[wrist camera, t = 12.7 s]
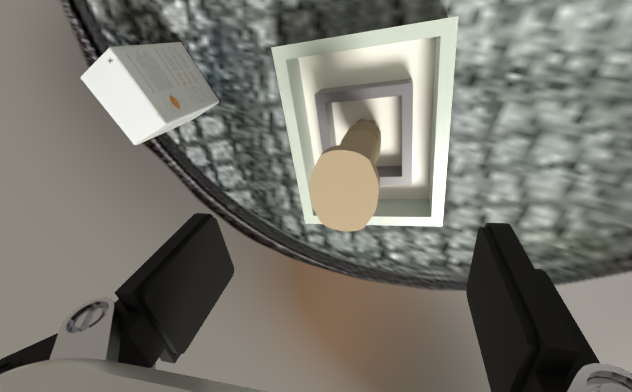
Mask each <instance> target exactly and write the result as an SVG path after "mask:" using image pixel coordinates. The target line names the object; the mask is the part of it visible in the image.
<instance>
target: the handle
mask: <svg viewBox="0 0 632 392" xmlns="http://www.w3.org/2000/svg"><path fill="white" fill-rule="evenodd" d="M380 149H381V131H380V130H379V129H378V127H377V126H376V122H375V121H374V120H372V119H371V120H364V119H361V120H359V121H357V123H356V124H354V125H353V126H352V127H351V128H350V129H349V130H348V131H347V133H346V134H345V136H344V137H343V139H342V141H341V143H340V145H337V146H333V147H330V148H328V149H326V150H324V151H323V153H322V154H321V155H320V157H319V159H318V161H317V163H316V165H315V167H314V169H313V171H312V173H311V176H310V200H311V204H312V207H313V209H314V211H315V213H316V215H317V217H318V218H319V220H320V222H321V223H323V224H324V225H326V226H327V227H329V228H332V229H335V230H340V231H356V230H360V229H363V228H364V227H365V226H366V224H367V223H368V222H369V220H370V219H371V217H372V216H373V214H374V213H375V211H376V208H377V203H378V196H379V187H380V177H379V174H378V170H377V168H376V162H377V160H378V157H379V154H380Z"/></svg>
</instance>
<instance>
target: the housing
mask: <svg viewBox="0 0 632 392" xmlns="http://www.w3.org/2000/svg"><path fill="white" fill-rule="evenodd" d="M457 28H458V16H456V17H450V18H444V19H438V20H432V21H426V22H420V23H414V24H408V25H403V26H397V27H391V28H385V29H379V30H373V31H367V32H361V33H355V34H349V35H343V36H337V37H331V38H325V39H319V40H313V41H307V42H301V43H295V44H289V45H283V46H277V47H271V49H272V54H273V59H274V64H275V69H276V74H277V80H278V85H279V90H280V95H281V100H282V105H283V110H284V116H285V121H286V126H287V131H288V136H289V141H290V146H291V152H292V157H293V162H294V167H295V172H296V177H297V182H298V188H299V193H300V198H301V203H302V208H303V213H304V218H305V224H323V223H321V222H320V220H319V218H318V217H317V215H316V213H315V211H314V209H313V207H312V204H311V200H310V176H311V173H312V171H313V169H314V167H315V165H316V163H317V161H318V159H319V157H320V155H321V154H322V153H323V151H324V150H326V149H328V148H330V147H333V146H337V145H340V143H341V141H342V139H343V137H344V136H345V134H346V133H347V131H348V130H349V129H350V128H351V127H352V126H353V125H354V124H356V123H357V121H359V120H361V119H364V120H371V119H372V120H374V121H375V122H376V126H377V127H378V129H379V130H380V131H381V149H380V154H379V157H378V160H377V162H376V168H377V170H378V174H379V177H380V187H379V196H378V203H377V208H376V211H375V213H374V214H373V216H372V217H371V219H370V220H369V222H368V223H367V224H366V225H398V226H443V213H444V199H445V186H446V173H447V160H448V147H449V133H450V120H451V107H452V94H453V81H454V67H455V54H456V41H457Z"/></svg>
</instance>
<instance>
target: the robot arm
mask: <svg viewBox="0 0 632 392" xmlns="http://www.w3.org/2000/svg"><path fill="white" fill-rule="evenodd" d="M233 273H234V266H233V264H232V261H231V258H230V255H229V252H228V250H227V247H226V244H225V242H224V239H223V236H222V234H221V230H220V228H219V225H218V222H217V220H216V219H215V218H213V216H212V215H211V214H201V213H197V214H194V215H193V216H192V217H191V218H190V219H189V220H188V221H187V222H186V223H185V224H184V225H183V226H182V227H181V228H180V229H179V230H178V231H177V232H176V233H175V234H174V235H173V236H172V237H171V238H170V239H169V240H168V241H167V242H166V243H165V244H164V245H162V247H160V248H159V250H157V251H156V252H155V253H154V254H153V255H152V257H150V258H149V259H148V260H147V261H146V262H145V263H144V264H143V265H142V266H141V267H140V268H139V269H138V270H137V271H136V272H135V273H134V274H133V275H132V276H131V277H130V278H129V279H128V280H127V281H126V282H125V283H124V284H123V285H122V286H121V287H120V288H119V289H118V290H117V291H116V292H115V294H116V295H117V297H118V298H119V299H118V300H117V301H116V302H114V301H113V300H112V299H111V298H107V297H103V298H98V299H94V300H91V301H89V302H87V303H85V304H83V305H82V306H80V307H78V308H77V309H76V310H74V311H73V312H72V313H71V314H70V315H69V316H68V317H67V318H66V319H65V320H64V322H63V323H62V326H61V327H60V330H59V333H57V334H55V335H53V336H51V337H49V338H46V339H45V340H42V341H40V342H38V343H35V344H33V345H31V346H29V347H27V348H24V349H22V350H20V351H18V352H16V353H14V354H11V355H9V356H7V357H5V358H3V359H1V360H0V392H265V391H260V390H256V389H250V388H246V387H240V386H236V385H231V384H226V383H221V382H216V381H212V380H207V379H201V378H196V377H191V376H186V375H181V374H176V373H171V372H166V371H161V370H156V369H155V367H156V364H155V362H156V361H157V359H158V358H160V359H161V360H162V361H165V362H170V363H175V362H176V361H177V359H178V358H179V356H180V354H183V353H184V352H185V351H186V349H187V348H188V347H189V345H190V343H191V342H192V340H193V339H194V337H195V335H196V334H197V332H198V331H199V329H200V327H201V326H202V324H203V323H204V321H205V319H206V318H207V316H208V315H209V313H210V311H211V310H212V308H213V307H214V305H215V303H216V302H217V300H218V298H219V297H220V295H221V294H222V292H223V291H224V289H225V287H226V286H227V284H228V283H229V281H230V280H231V278H232V276H233ZM467 299H468V303H469V307H470V311H471V315H472V319H473V323H474V326H475V330H476V334H477V338H478V342H479V345H480V349H481V354H482V357H483V361H484V365H485V369H486V373H487V377H488V381H489V385H490V388H491V392H632V373H630V372H628V371H626V370H624V369H622V368H619V367H615V366H612V365H608V364H600V363H599V360H598V359H597V357H596V355H595V354H594V352H593V350H592V349H591V347H590V345H589V344H588V342H587V340H586V339H585V337H584V335H583V334H582V332H581V331H580V328H579V327H578V325H577V323H576V322H575V320H574V318H573V317H572V315H571V313H570V312H569V310H568V308H567V307H566V305H565V303H564V302H563V300H562V298H561V296H560V295H559V293H558V291H557V290H556V288H555V286H554V285H553V283H552V281H551V280H550V278H549V276H548V275H547V274H546V272H545V271H543V270H542V269H534V267H533V265H532V263H531V262H530V260H529V258H528V256H527V254H526V253H525V251H524V249H523V247H522V245H521V244H520V242H519V240H518V238H517V236H516V235H515V233H514V231H513V229H512V227H511V226H510V225H509V224H507V223H487V224H486V225H485V227H480V228H479V230H478V234H477V239H476V244H475V249H474V254H473V259H472V263H471V268H470V273H469V278H468V283H467Z"/></svg>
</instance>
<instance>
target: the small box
mask: <svg viewBox="0 0 632 392" xmlns="http://www.w3.org/2000/svg"><path fill="white" fill-rule="evenodd" d="M80 78H81V79H82V80H83V82H84V83H85V84H86V85H87V87H88V88H89V89H90V91H91V92H92V93H93V94H94V95H95V97H96V98H97V99H98V100H99V101H100V103H101V104H102V105H103V106H104V108H105V109H106V110H107V112H108V113H109V114H110V115H111V117H112V118H113V119H114V120H115V122H116V123H117V124H118V125H119V126H120V127H121V129H122V130H123V132H124V133H125V134H126V135H127V136H128V138H129V139H130V140H131V142H132V143H133V144H134V145H138V144H140V143H142V142H144V141H147V140H149V139H151V138H153V137H155V136H158V135H160V134H162V133H165V132H167V131H169V130H171V129H173V128H175V127H178V126H180V125H182V124H184V123H186V122H189V121H191V120H193V119H194V118H196V117H197V116H199V115H201V114H202V113H204V112H205V111H207V110H208V109H210V108H211V107H213V106H214V105H216V104H217V103H219V100H218V98H217V97H216V95H215V94H214V92H213V91H212V89H211V88H210V86H209V85H208V83H207V81H206V80H205V78H204V77H203V75H202V74H201V72H200V71H199V69H198V67H197V66H196V64H195V63H194V61H193V60H192V58H191V57H190V55H189V54H188V52H187V51H186V49H185V47H184V46H183V44H182V43H181V42H171V43H158V44H144V45H128V46H115V47H109V49H108V50H107V51H106V52H105V53H104V54H103V55H102V56H101V57H100V58H99V59H98V60H97V61H96V62H95V63H94V64H93V65H92V66H91V67H90V68H89V69H88V70H87V71H86V72H85V73H84V74H83V75H82V76H81V77H80Z"/></svg>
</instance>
